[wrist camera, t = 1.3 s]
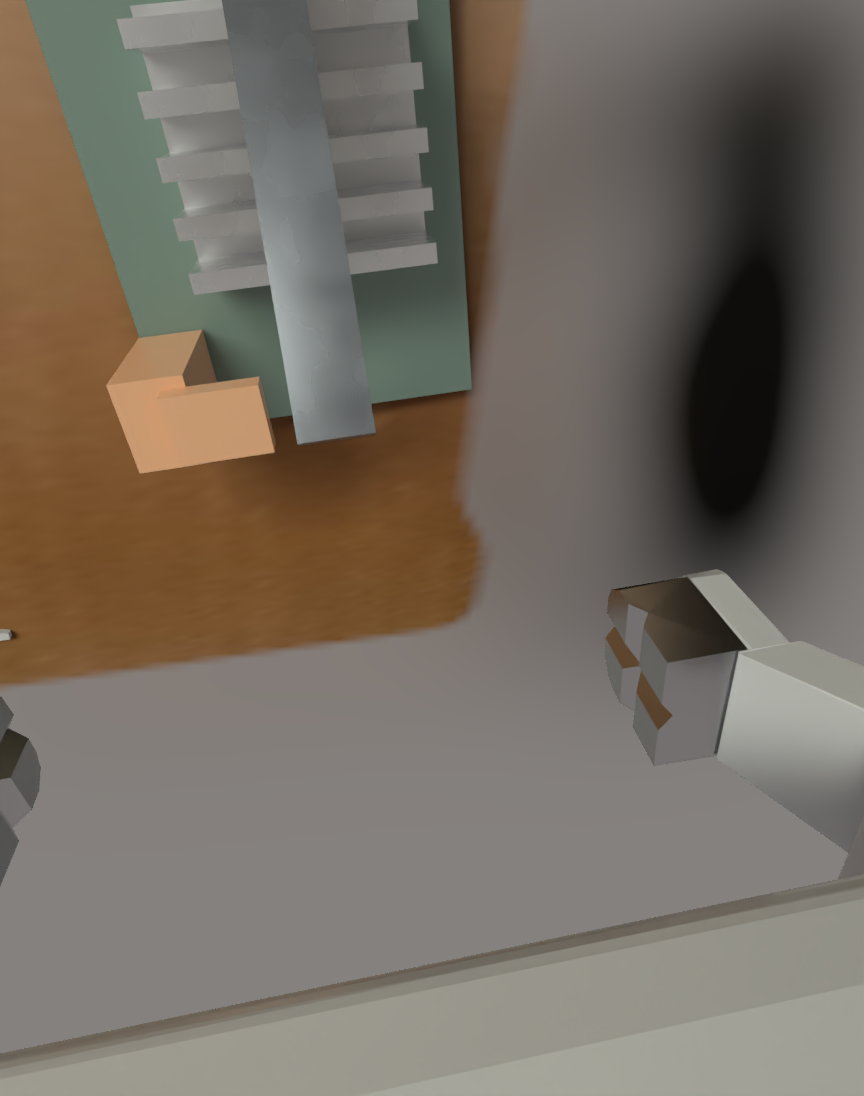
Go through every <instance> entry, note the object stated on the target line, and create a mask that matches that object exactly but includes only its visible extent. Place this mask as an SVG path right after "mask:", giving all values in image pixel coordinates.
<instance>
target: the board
mask: <svg viewBox="0 0 864 1096" xmlns="http://www.w3.org/2000/svg"><path fill="white" fill-rule="evenodd" d="M25 1H26V4H27V7H28V10H29V13H30V16H31V19H32V22H33V24H34V27H35V30H36V33H37V36H38V39H39V42H40V45H41V48H42V51H43V54H44V57H45V60H46V63H47V66H48V69H49V72H50V75H51V78H52V81H53V84H54V87H55V89H56V92H57V95H58V98H59V101H60V104H61V107H62V110H63V113H64V116H65V119H66V122H67V125H68V128H69V131H70V134H71V137H72V140H73V143H74V146H75V149H76V152H77V155H78V157H79V160H80V163H81V166H82V169H83V172H84V175H85V178H86V181H87V184H88V187H89V190H90V193H91V196H92V199H93V202H94V205H95V208H96V211H97V214H98V217H99V220H100V222H101V225H102V228H103V231H104V234H105V237H106V240H107V243H108V246H109V249H110V252H111V255H112V258H113V261H114V264H115V267H116V270H117V273H118V276H119V279H120V282H121V285H122V287H123V290H124V293H125V296H126V299H127V302H128V305H129V308H130V311H131V314H132V317H133V320H134V323H135V326H136V329H137V332H138V335H139V338H142V337H150V336H157V335H165V334H172V333H180V332H187V331H195V330H203V334H204V337H205V341H206V344H207V348H208V352H209V355H210V359H211V362H212V366H213V369H214V373H215V376H216V380H217V382H223V381H230V380H237V379H245V378H252V377H259V376H260V381H261V385H262V389H263V393H264V397H265V401H266V405H267V409H268V413H269V417H270V418H277V417H283V416H290V415H292V410H291V404H290V398H289V392H288V386H287V380H286V374H285V369H284V363H283V357H282V351H281V345H280V339H279V333H278V328H277V322H276V316H275V310H274V304H273V298H272V292H271V287H270V285H267V286H259V287H251V288H244V289H236V290H228V291H221V292H213V293H205V294H198V295H194V293H193V289H192V286H191V282H190V278H189V275H188V274H189V272H190V271H191V269H192V268H193V266H194V265H195V263H196V262H197V260H198V256H197V252H196V249H195V245H194V241H193V240H188V241H180V242H179V239H178V236H177V232H176V229H175V225H174V222H173V218H174V217H175V216H176V215H178V214H179V213H180V212H181V211H182V210H183V209H184V204H183V201H182V197H181V193H180V189H179V186H178V182H170V183H162V179H161V176H160V172H159V168H158V165H157V161H156V158H158V157H161V156H163V155H165V154H168V153H170V152H169V149H168V145H167V141H166V138H165V134H164V130H163V127H162V123H161V119H160V118H155V119H146V120H145V119H144V115H143V112H142V108H141V105H140V101H139V97H138V94H137V92H145V91H153V90H152V86H151V82H150V78H149V75H148V71H147V67H146V64H145V60H144V56H143V54H142V53H138V52H134V51H130V50H125V48H124V44H123V41H122V37H121V34H120V30H119V26H118V23H117V19H124V18H133V16H132V12H131V8H130V6H133V5H143V4H153V3H163V2H174V1H184V0H25ZM417 9H418V20H417V21H415V22H414V23H412V24H411V25H409V26H408V35H409V47H410V58H411V63H415V62H422V72H423V84H424V89H418V90H413V93H414V104H415V116H416V125H420V126H423V127H427V134H428V147H429V152H426V153H419V161H420V173H421V180H422V181H424V182H425V183H426V184H428V185H429V186H430V187H432V197H433V210H430V211H424V219H425V230H426V231H427V233H428V234H429V235H430V236H431V237H432V238H433V239H434V241H435V242H436V247H437V260H438V263H436V264H428V265H421V266H413V267H405V268H397V269H390V270H382V271H374V272H367V273H359V274H351V281H352V287H353V293H354V300H355V306H356V312H357V318H358V325H359V331H360V337H361V343H362V349H363V356H364V362H365V368H366V374H367V381H368V387H369V393H370V399H371V404H373V403H380V402H387V401H394V400H401V399H408V398H414V397H421V396H428V395H435V394H442V393H449V392H456V391H463V390H470V389H472V381H471V364H470V347H469V330H468V313H467V296H466V278H465V261H464V244H463V227H462V210H461V193H460V176H459V159H458V141H457V124H456V107H455V90H454V73H453V56H452V39H451V22H450V4H449V0H417Z"/></svg>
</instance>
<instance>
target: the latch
mask: <svg viewBox="0 0 864 1096" xmlns="http://www.w3.org/2000/svg"><path fill="white" fill-rule="evenodd" d="M106 386H107V389H108V391H109V394H110V397H111V399H112V402H113V405H114V407H115V410H116V412H117V415H118V418H119V420H120V423H121V425H122V428H123V431H124V433H125V436H126V439H127V441H128V444H129V446H130V449H131V452H132V454H133V457H134V459H135V462H136V465H137V467H138V470H139V473H146V472H153V471H159V470H166V469H173V468H180V467H186V466H193V465H200V464H206V463H210V462H215V461H221V460H228V459H235V458H241V457H248V456H255V455H262V454H268V453H275V444H276V442H275V438H274V434H273V430H272V426H271V421H270V417H269V413H268V409H267V405H266V401H265V397H264V393H263V389H262V385H261V381H260V376H259V377H252V378H245V379H237V380H230V381H223V382H217V380H216V376H215V373H214V369H213V366H212V362H211V359H210V355H209V352H208V348H207V344H206V341H205V337H204V334H203V330H195V331H187V332H180V333H172V334H165V335H157V336H150V337H142V338H139V339H138V340H137V341H136V343H135V344H134V346H133V347H132V349H131V350H130V352H129V353H128V355H127V356H126V357H125V359H124V360H123V362H122V363H121V365H120V366H119V368H118V369H117V371H116V372H115V373H114V375H113V376H112V378H111V379H110V381H109V382H108V384H107V385H106Z"/></svg>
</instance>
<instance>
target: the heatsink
mask: <svg viewBox="0 0 864 1096" xmlns="http://www.w3.org/2000/svg"><path fill="white" fill-rule="evenodd" d="M306 1H307V7H308V13H309V20H310V26H311V32H312V38H313V44H314V51H315V57H316V63H317V69H318V76H319V82H320V88H321V94H322V100H323V107H324V113H325V119H326V125H327V132H328V138H329V144H330V150H331V156H332V163H333V169H334V175H335V181H336V188H337V194H338V200H339V206H340V212H341V219H342V225H343V231H344V237H345V244H346V250H347V256H348V262H349V269H350V275H351V274H359V273H367V272H374V271H382V270H390V269H397V268H405V267H413V266H421V265H428V264H436V263H438V260H437V247H436V242H435V241H434V239H433V238H432V237H431V236H430V235H429V234H428V233H427V231H426V230H425V219H424V211H430V210H433V197H432V187H430V186H429V185H428V184H426V183H425V182H424V181H422V180H421V173H420V161H419V153H426V152H429V147H428V134H427V127H423V126H420V125H416V116H415V104H414V93H413V90H418V89H424V84H423V72H422V62H415V63H411V58H410V47H409V35H408V26H409V25H411V24H412V23H414V22H415V21H417V20H418V9H417V0H306ZM130 8H131V12H132V16H133V18H124V19H117V23H118V26H119V30H120V34H121V37H122V41H123V44H124V48H125V50H130V51H134V52H138V53H142V54H143V56H144V60H145V64H146V67H147V71H148V75H149V78H150V82H151V86H152V90H153V91H145V92H137V94H138V97H139V101H140V105H141V108H142V112H143V115H144V119H145V120H146V119H155V118H160V119H161V123H162V127H163V130H164V134H165V138H166V141H167V145H168V149H169V152H170V153H168V154H165V155H163V156H161V157H158V158H156V161H157V165H158V168H159V172H160V176H161V179H162V183H170V182H178V186H179V189H180V193H181V197H182V201H183V204H184V209H183V210H182V211H181V212H180V213H179V214H178V215H176V216H175V217H174V218H173V222H174V225H175V229H176V232H177V236H178V239H179V242H180V241H188V240H193V241H194V245H195V249H196V252H197V256H198V260H197V262H196V263H195V265H194V266H193V268H192V269H191V271H190V272H189V274H188V275H189V278H190V282H191V286H192V289H193V293H194V295H198V294H205V293H213V292H221V291H228V290H236V289H244V288H251V287H259V286H267V285H270V281H269V275H268V269H267V263H266V257H265V251H264V245H263V240H262V234H261V228H260V222H259V216H258V210H257V204H256V199H255V193H254V187H253V181H252V175H251V169H250V163H249V158H248V152H247V146H246V140H245V134H244V128H243V122H242V117H241V111H240V105H239V99H238V93H237V87H236V81H235V75H234V70H233V64H232V58H231V52H230V46H229V40H228V34H227V29H226V23H225V17H224V11H223V5H222V0H184V1H174V2H163V3H153V4H143V5H133V6H130Z"/></svg>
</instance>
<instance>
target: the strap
mask: <svg viewBox="0 0 864 1096" xmlns="http://www.w3.org/2000/svg"><path fill="white" fill-rule="evenodd" d="M222 5H223V11H224V17H225V23H226V29H227V34H228V40H229V46H230V52H231V58H232V64H233V70H234V75H235V81H236V87H237V93H238V99H239V105H240V111H241V117H242V122H243V128H244V134H245V140H246V146H247V152H248V158H249V163H250V169H251V175H252V181H253V187H254V193H255V199H256V204H257V210H258V216H259V222H260V228H261V234H262V240H263V245H264V251H265V257H266V263H267V269H268V275H269V281H270V287H271V292H272V298H273V304H274V310H275V316H276V322H277V328H278V333H279V339H280V345H281V351H282V357H283V363H284V369H285V374H286V380H287V386H288V392H289V398H290V404H291V410H292V415H293V421H294V427H295V433H296V439H297V444H298V445H299V446H305V445H312V444H319V443H326V442H332V441H339V440H346V439H353V438H359V437H366V436H373V435H376V430H375V424H374V418H373V412H372V405H371V399H370V393H369V387H368V381H367V374H366V368H365V362H364V356H363V349H362V343H361V337H360V331H359V325H358V318H357V312H356V306H355V300H354V293H353V287H352V281H351V275H350V269H349V262H348V256H347V250H346V244H345V237H344V231H343V225H342V219H341V212H340V206H339V200H338V194H337V188H336V181H335V175H334V169H333V163H332V156H331V150H330V144H329V138H328V132H327V125H326V119H325V113H324V107H323V100H322V94H321V88H320V82H319V76H318V69H317V63H316V57H315V51H314V44H313V38H312V32H311V26H310V20H309V13H308V7H307V1H306V0H222Z"/></svg>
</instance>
